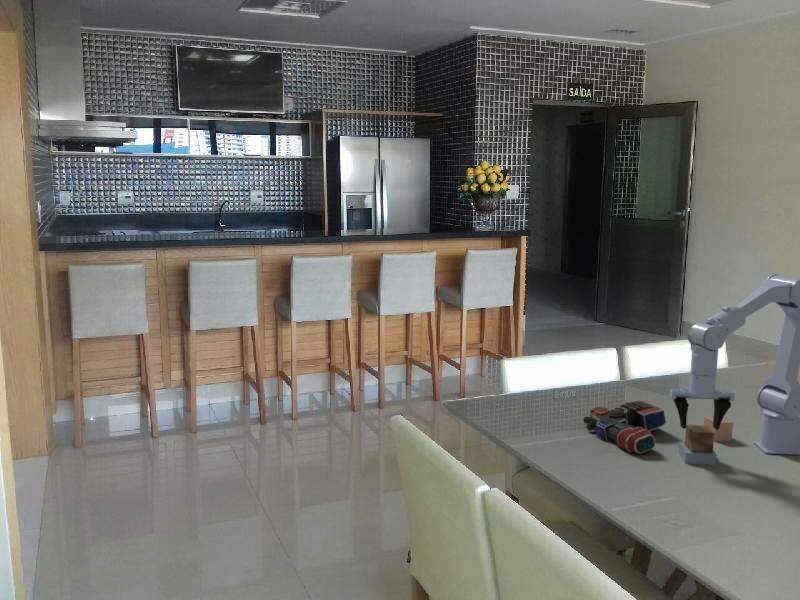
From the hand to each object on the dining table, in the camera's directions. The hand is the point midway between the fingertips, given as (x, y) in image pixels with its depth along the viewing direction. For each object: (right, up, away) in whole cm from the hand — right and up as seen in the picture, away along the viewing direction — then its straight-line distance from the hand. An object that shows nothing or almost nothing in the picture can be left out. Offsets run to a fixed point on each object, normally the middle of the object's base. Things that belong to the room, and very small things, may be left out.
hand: (699, 427), depth 172 cm
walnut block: (0, -5, +1) cm, 5 cm away
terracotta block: (+11, -6, +16) cm, 20 cm away
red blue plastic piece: (-10, -6, +17) cm, 21 cm away
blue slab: (0, -8, +1) cm, 8 cm away
